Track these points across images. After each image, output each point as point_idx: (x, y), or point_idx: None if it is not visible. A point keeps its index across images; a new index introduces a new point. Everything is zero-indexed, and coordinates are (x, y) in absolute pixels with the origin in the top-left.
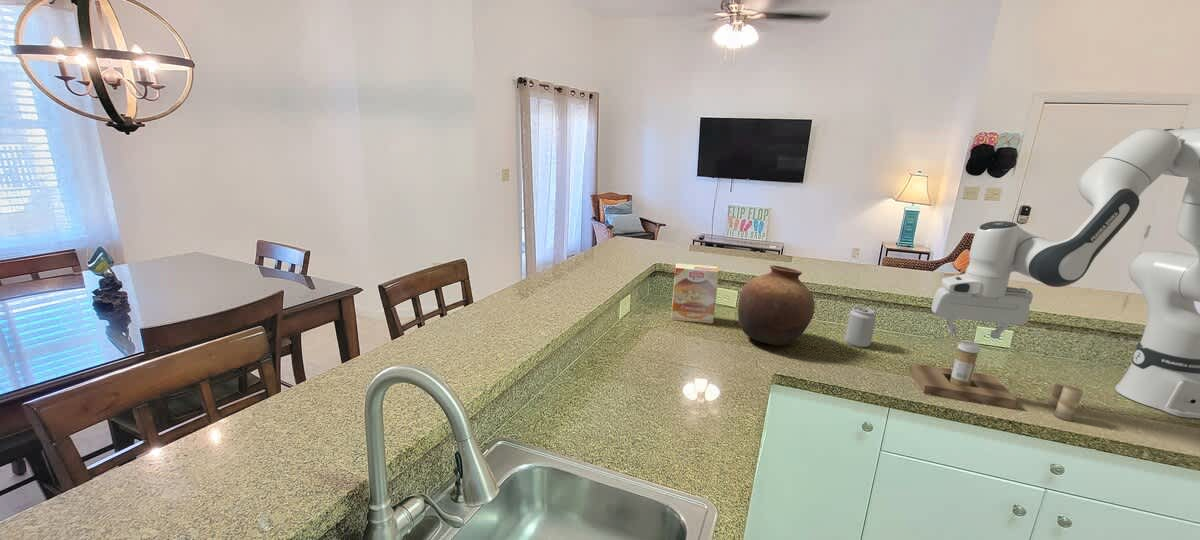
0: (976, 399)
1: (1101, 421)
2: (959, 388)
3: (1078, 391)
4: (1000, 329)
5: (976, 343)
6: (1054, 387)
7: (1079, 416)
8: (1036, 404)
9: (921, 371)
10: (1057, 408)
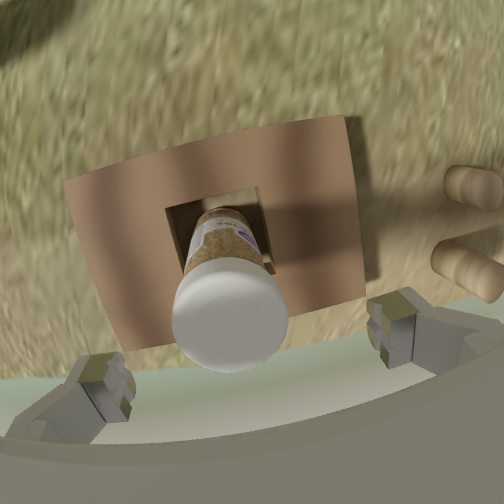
0: None
1: (494, 227)
2: None
3: (499, 290)
4: (437, 368)
5: (271, 307)
6: (476, 192)
7: (472, 227)
8: (415, 211)
9: (99, 245)
10: (442, 267)
